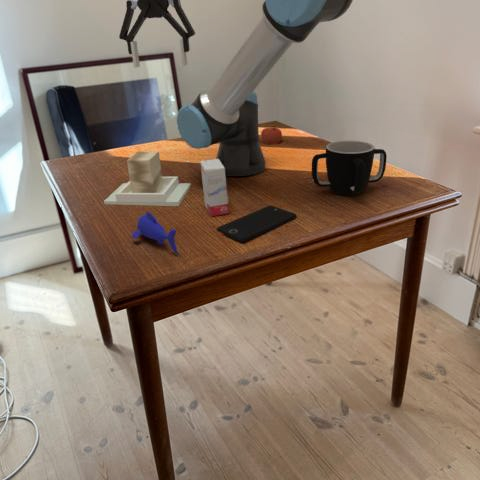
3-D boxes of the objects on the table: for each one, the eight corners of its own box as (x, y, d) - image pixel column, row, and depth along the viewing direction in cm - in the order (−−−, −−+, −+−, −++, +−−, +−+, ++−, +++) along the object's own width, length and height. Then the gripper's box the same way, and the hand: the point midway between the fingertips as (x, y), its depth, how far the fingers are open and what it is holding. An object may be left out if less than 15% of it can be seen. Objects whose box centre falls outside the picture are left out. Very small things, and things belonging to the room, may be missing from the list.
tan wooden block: (163, 186, 132) (158, 151, 128) (154, 197, 125) (149, 160, 121) (142, 186, 133) (137, 151, 129) (132, 197, 126) (126, 160, 122)
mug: (340, 176, 137) (342, 135, 132) (390, 188, 127) (395, 144, 121) (304, 192, 127) (305, 148, 122) (356, 206, 117) (359, 159, 111)
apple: (261, 144, 172) (261, 122, 169) (282, 144, 171) (282, 122, 168) (260, 150, 166) (259, 127, 162) (281, 150, 165) (281, 127, 161)
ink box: (229, 214, 116) (226, 167, 111) (209, 217, 115) (205, 170, 110) (222, 202, 124) (219, 157, 119) (203, 204, 123) (199, 160, 118)
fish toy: (126, 239, 107) (121, 211, 104) (155, 228, 111) (151, 201, 108) (163, 261, 97) (159, 231, 94) (193, 248, 101) (190, 219, 98)
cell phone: (215, 231, 109) (215, 227, 108) (270, 208, 119) (270, 204, 119) (242, 243, 103) (242, 239, 102) (297, 217, 113) (297, 214, 113)
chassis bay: (191, 188, 134) (190, 176, 133) (178, 207, 122) (177, 194, 120) (123, 188, 137) (122, 176, 136) (104, 206, 125) (102, 194, 123)
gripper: (201, -25, 122) (208, 62, 132) (109, -19, 126) (122, 66, 136) (194, -27, 116) (202, 66, 125) (97, -20, 120) (112, 69, 129)
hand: (160, 66), depth 130 cm, fingers open, 13 cm apart
